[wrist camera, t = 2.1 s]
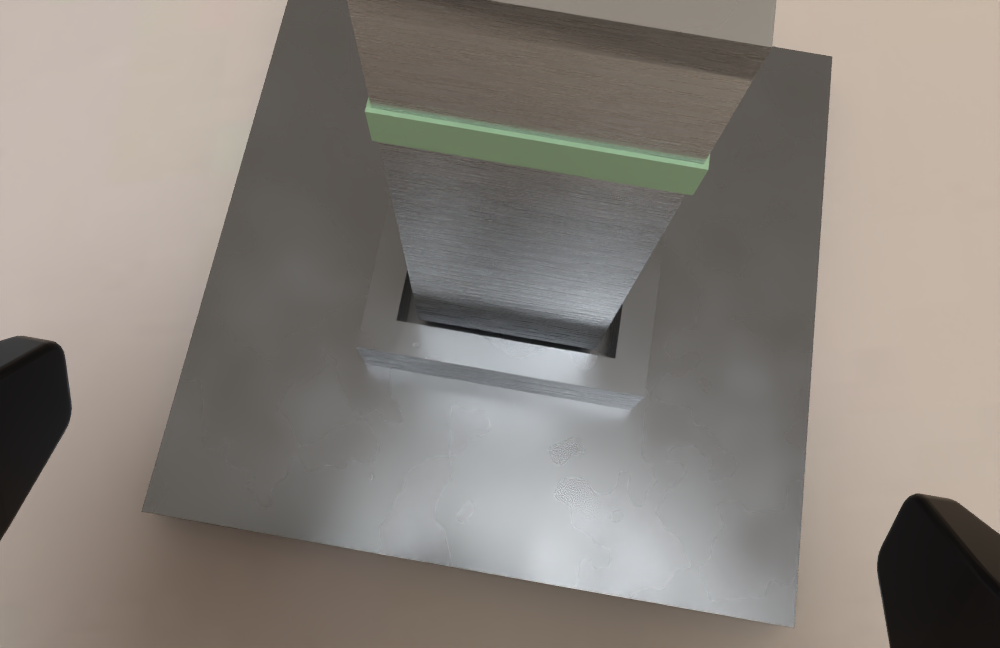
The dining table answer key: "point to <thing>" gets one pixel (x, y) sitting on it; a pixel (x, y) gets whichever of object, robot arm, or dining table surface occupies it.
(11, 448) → the robot arm
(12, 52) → the dining table surface
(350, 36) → the grey square stand
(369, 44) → the jack column
